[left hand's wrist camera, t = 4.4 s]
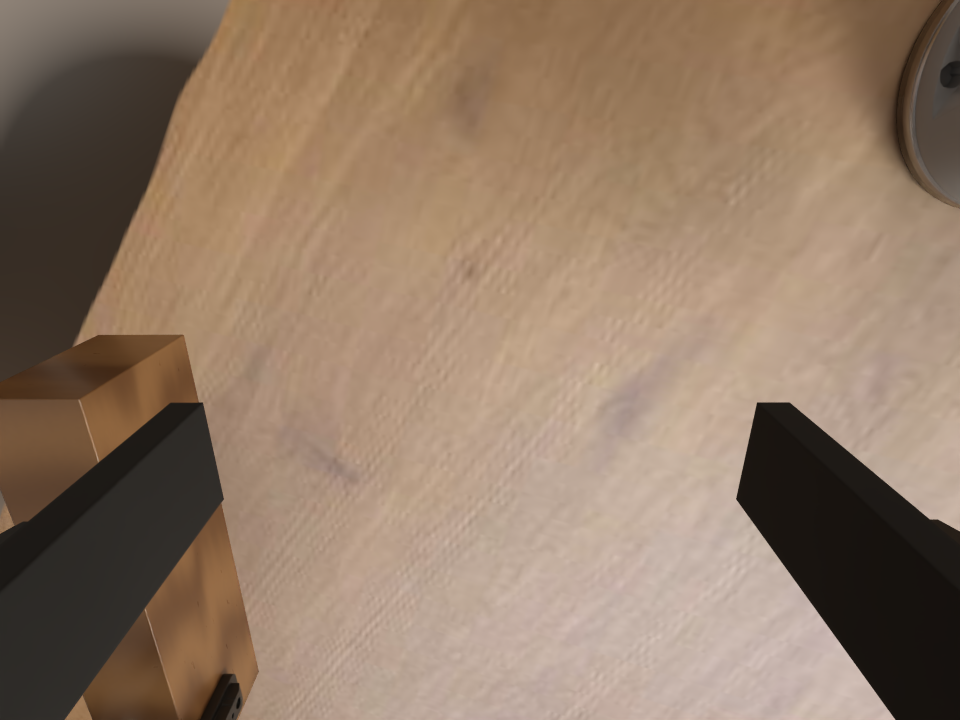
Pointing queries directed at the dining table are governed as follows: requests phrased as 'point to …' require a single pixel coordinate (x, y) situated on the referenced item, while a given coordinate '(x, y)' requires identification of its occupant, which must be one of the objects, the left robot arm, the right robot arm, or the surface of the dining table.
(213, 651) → the bar
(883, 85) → the dining table surface
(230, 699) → the right robot arm
